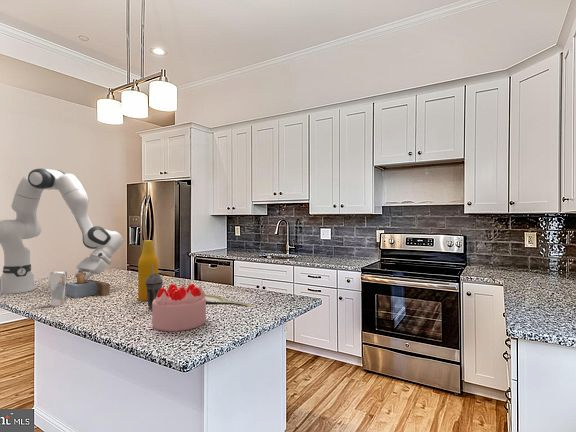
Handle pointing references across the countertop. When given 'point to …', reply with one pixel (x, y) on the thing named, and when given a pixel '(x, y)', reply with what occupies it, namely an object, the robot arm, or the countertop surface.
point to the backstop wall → (101, 287)
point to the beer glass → (58, 287)
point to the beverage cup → (153, 287)
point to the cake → (179, 308)
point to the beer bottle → (146, 268)
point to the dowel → (81, 278)
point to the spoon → (222, 300)
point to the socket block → (81, 289)
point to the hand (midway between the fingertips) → (80, 278)
